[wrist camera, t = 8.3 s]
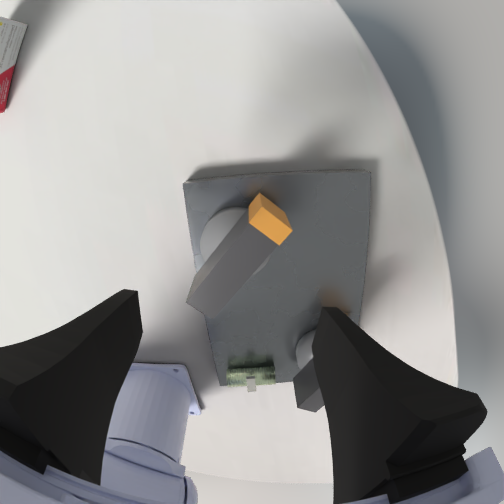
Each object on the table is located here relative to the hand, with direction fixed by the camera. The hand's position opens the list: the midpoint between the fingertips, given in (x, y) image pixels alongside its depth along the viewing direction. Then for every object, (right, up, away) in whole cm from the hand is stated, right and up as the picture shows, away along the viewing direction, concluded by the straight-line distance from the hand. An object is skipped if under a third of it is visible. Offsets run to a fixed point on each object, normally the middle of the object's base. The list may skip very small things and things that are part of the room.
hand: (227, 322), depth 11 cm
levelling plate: (+3, 0, +11) cm, 11 cm away
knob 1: (0, +3, +8) cm, 9 cm away
